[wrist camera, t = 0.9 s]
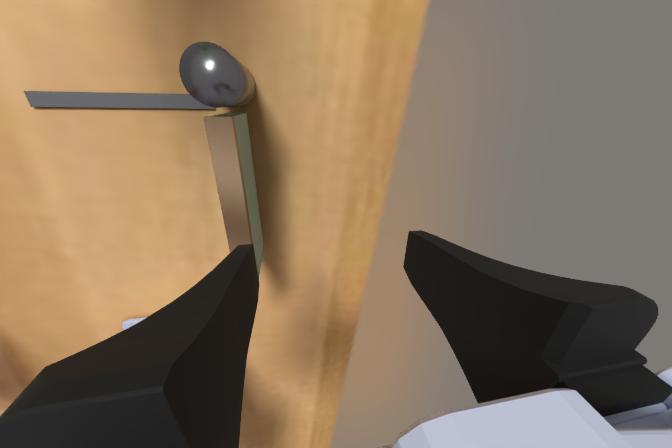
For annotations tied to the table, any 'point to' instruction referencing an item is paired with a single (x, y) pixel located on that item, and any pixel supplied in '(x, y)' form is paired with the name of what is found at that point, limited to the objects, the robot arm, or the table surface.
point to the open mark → (112, 100)
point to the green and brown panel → (235, 180)
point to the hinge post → (215, 76)
